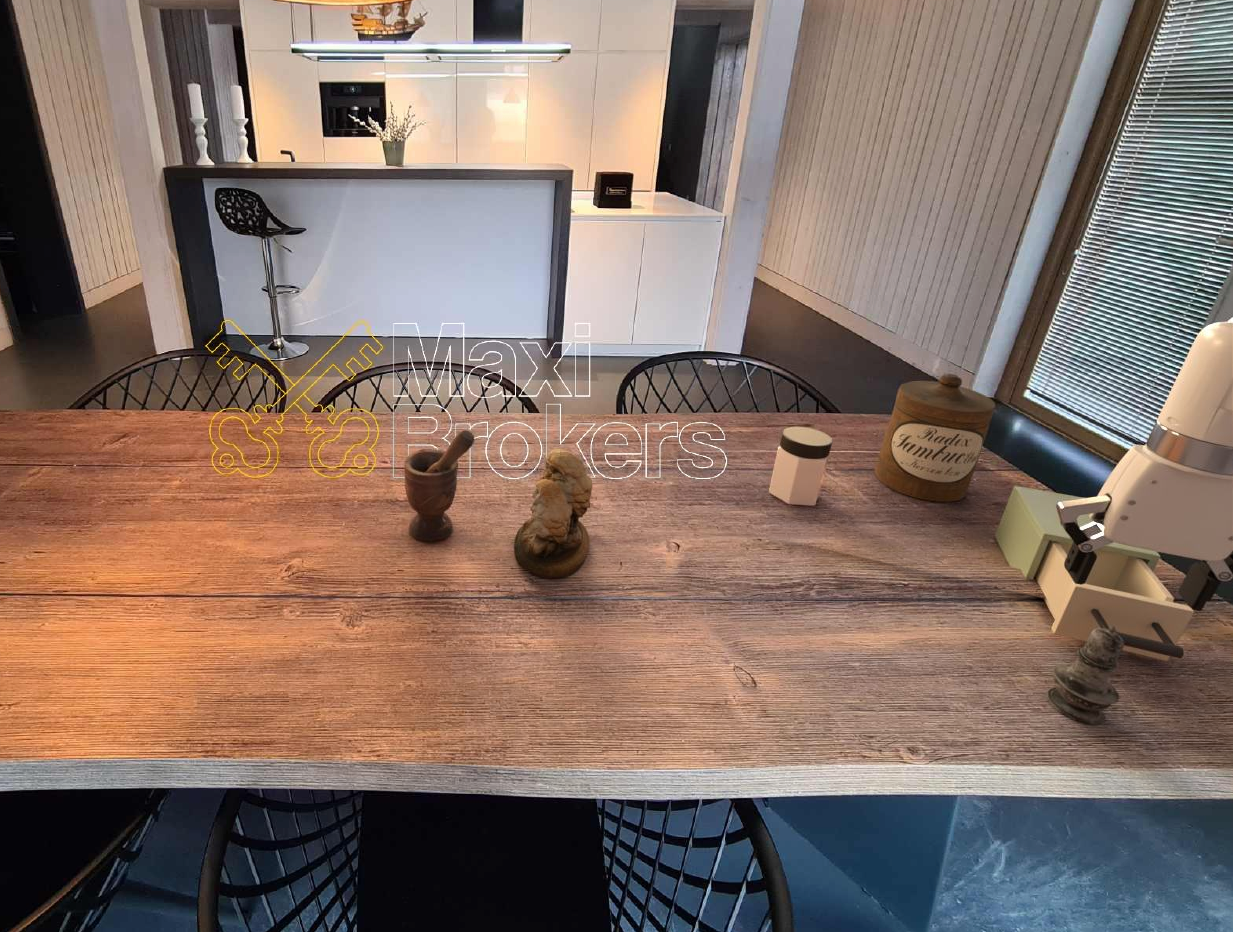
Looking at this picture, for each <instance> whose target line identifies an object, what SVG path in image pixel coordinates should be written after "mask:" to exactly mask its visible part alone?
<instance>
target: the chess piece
mask: <svg viewBox="0 0 1233 932" xmlns="http://www.w3.org/2000/svg"><path fill="white" fill-rule="evenodd" d="M1108 629H1109V630H1108ZM1108 629H1102V628H1099V629H1095V630H1093V631H1092V632H1091V634H1090V636H1089V638H1088V640H1087V642H1086V641H1085V644H1084V646H1080V647H1079V648H1077V651H1076V652H1077V655H1078V657H1077V659H1076V661H1075V663H1074V664H1066V663H1065V664H1058V665H1056V666H1054V667H1053V669H1052V675H1053V685H1054V687H1052V688H1049V689H1047V691H1046V692H1045V698H1046V700H1047V702H1048V703H1049V704H1050V705H1051V707H1052V708H1053V709H1055V710H1056V711H1057V712H1058V713H1060V714H1062V715H1063V716H1065V717H1067V718H1069V719H1071V720H1073V721H1075V722H1078V723H1081V724H1083V725H1092V726H1097V725H1100V724H1102V723H1103V722H1104V721H1105V714H1104V713H1103V710H1106V709H1107V708H1110V707H1111V706H1112V705H1115V704H1117V703H1118V702H1119V700H1120V694H1119V692H1118V690H1117V688H1116V687H1114V685H1113V684H1112V683H1111V682H1109V679H1110V677H1111V675H1112V673H1113V672H1115V671H1117V670H1118V669H1119V668H1120V666H1119V663H1118V658H1119V657H1120V655H1121V653H1122V651H1123V650H1122V649H1123V647H1124V641H1123V639H1122V638H1121V637H1120V636H1119V635H1118V634H1116V633H1115V632H1116V629H1115V627H1114V626H1112V627H1108Z"/></svg>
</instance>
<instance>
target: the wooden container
mask: <svg viewBox="0 0 1233 932" xmlns="http://www.w3.org/2000/svg"><path fill="white" fill-rule="evenodd" d="M962 384H963V379H962V378H961V377H959V375H956V374H953V373H946V374H942V375H941V376H939V377H938V381H931V380H914V381H908V382H904V383H902V384H901V385H900V386H899V388H898V390H897V394H896V398H895V403H894V407H893V410H892V413H891V416H890V418H889V423H888V426H887V428H886V432H885V435H884V438H883V440H882V444H881V447H880V450H879V456H878V458H877V460H876V461H877V462H876V465H875V469H874V474H875V477H876V478H877V479H878V480H879V481H880V482H881V483H882V484H884V485H885V486H887V487H889V488H890V489H892V490H894V491H896V492H898V493H900V494H903V495H906V496H909V497H912V498H915V499H920V500H925V501H929V502H937V503H938V502H940V503H948V502H949V503H950V502H956V501H960V500H962V499H963V498H965V496H966V494H967V492H968V489H969V487H970V484H971V481H972V478H973V476H974V473H975V472H976V471H975V470H976V468H977V465H978V463H979V460H980V459H979V458H980V455H981V453H982V449H983V446H984V443H985V439H986V436H987V433H988V430H989V427H990V422H991V421H992V417H993V415H994V412H995V409H996V404H995V401H994V400H992V398H990V397H989V396H987V395H985V394H983V393H981V392H978V391H976V390H973V389H970V388H968V387H964V386H962Z"/></svg>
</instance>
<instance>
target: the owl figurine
mask: <svg viewBox="0 0 1233 932" xmlns="http://www.w3.org/2000/svg"><path fill="white" fill-rule="evenodd" d="M544 466H545V467H544V469H543V470H542V473H541V474H540V477H539V480H538V481H537V482H536V484H535V486H534V489H533V491H532V499H533V502H531V503H530V505H529V509H530V511H531V518H529V519H527V520H526V521H525V522H524V523H523V524H522V525H521V526H520V528H519V529H518V531H517V532H516V534H515V536H514V537H515V538H514V542H513V552H514V556H515V559H516V561H517V563H518V564H519V566H521V568H523V569H524V570H525V572H527V573H529V574H530V575H532V576H535V577H538V578H541V579H547V580H557V579H564V578H567V577H569V576H571V575H573V574H575V573H576V572H577V571H578V570H579V569H580V568H581V567H582V566H583V565H584V563H585V562H586V559H587V557H588V554H589V548H590V537H589V533H588V530H587V529H586V527H585V525H584V524H583V523H582V522H581V521H580V518H583V517H584V515H585V514H586V513H587V511H588V509H589V508H591V497H592V491H593V480H592V478H591V477H590V476H589V475H588V473H587V470H586V469H587V468H586V466H585V465H584V463H583V461H582V460H581V459H580V458H579V457H578V456H577V455H576V454H574V453H573V452H570V451H568V450H566V449H564V448H556V449H552V450H551V451H549V452H548V455H547V456H546V458H545V464H544Z"/></svg>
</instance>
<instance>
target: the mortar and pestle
mask: <svg viewBox="0 0 1233 932" xmlns="http://www.w3.org/2000/svg"><path fill="white" fill-rule="evenodd" d="M474 443H475V436H474V434H473V432H472V431H470V430H468V429H467V430H466V429H465V430H461V431H459V432H458V433H457V434H456V435H455V436H454V438H453V439H452V441H451V443H450V444H449V446H448V448H447V449H446V450H443V449H437V448H436V449H435V448H434V449H431V448H426V449H425V448H422V449H419V450H416V451H414V452H411V453H410V454H408V455H407V456H406V457H405V460H404V463H403V465H404V466H403V470H404V472H403V473H404V489H405V495H406V498H407V500H408V501H407V502H408V504H409V506H410V507H411V509H412V510H413V511H415V512H416V513H415V514H414V515H413V517H411V520H410V522H409V525H408V532H409V535H410V536H411V537H412V538H414V539H416V540H419V541H423V542H436V541H437V542H438V541H441V540H444V539H446V538H448V537H450V536H451V535H452V533H453V532H454V528H453V523H452V522H453V521H452V519H451V518H450V516H449V515H448V514H447V513H446V512H447V511H448V510H449V509H451V506H452V505H453V502H454V499H455V495H456V492H457V487H458V486H457V485H458V469H459V461H458V460H459V459H460V458H461V457H462V456H463V455H465V453H467V452H468V451H469V450H470V449H471V448H472V446H474Z"/></svg>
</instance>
